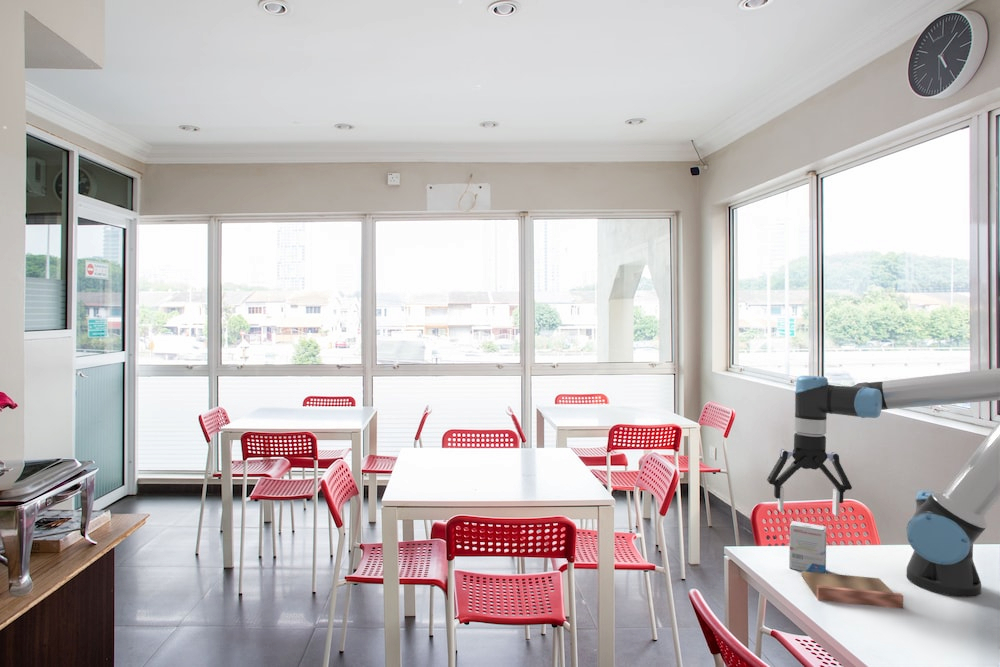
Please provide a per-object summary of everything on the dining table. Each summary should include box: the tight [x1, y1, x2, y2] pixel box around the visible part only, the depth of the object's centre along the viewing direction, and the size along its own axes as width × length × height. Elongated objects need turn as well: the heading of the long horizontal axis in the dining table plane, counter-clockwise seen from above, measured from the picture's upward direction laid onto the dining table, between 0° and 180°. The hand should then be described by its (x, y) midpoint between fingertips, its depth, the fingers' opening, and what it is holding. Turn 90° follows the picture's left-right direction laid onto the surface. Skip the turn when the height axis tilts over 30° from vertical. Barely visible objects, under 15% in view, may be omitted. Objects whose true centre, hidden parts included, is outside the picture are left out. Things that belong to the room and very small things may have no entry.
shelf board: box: [801, 571, 904, 610], centre depth 144 cm, size 18×13×3 cm
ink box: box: [788, 520, 827, 573], centre depth 157 cm, size 9×5×12 cm, turn 58°
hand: (807, 512), depth 157 cm, fingers open, 13 cm apart
